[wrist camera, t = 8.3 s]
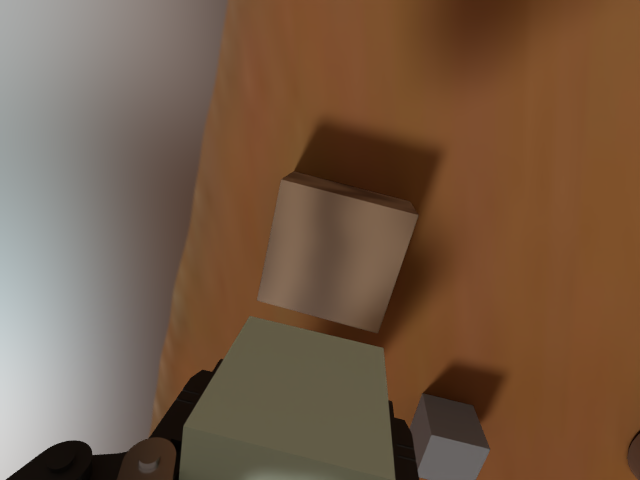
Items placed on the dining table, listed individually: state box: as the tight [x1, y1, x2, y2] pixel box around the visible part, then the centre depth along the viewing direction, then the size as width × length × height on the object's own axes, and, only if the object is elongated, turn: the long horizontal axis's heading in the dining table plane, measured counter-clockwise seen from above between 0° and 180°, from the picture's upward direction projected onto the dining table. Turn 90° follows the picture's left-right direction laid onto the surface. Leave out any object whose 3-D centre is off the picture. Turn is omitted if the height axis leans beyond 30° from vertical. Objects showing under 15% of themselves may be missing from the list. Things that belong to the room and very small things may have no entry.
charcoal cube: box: [410, 393, 490, 480], centre depth 33 cm, size 5×5×5 cm
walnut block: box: [257, 171, 419, 333], centre depth 29 cm, size 10×10×5 cm
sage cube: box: [179, 316, 395, 480], centre depth 11 cm, size 5×5×5 cm
